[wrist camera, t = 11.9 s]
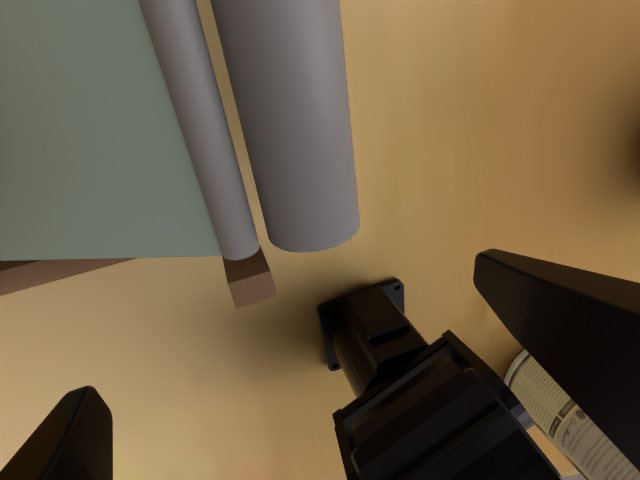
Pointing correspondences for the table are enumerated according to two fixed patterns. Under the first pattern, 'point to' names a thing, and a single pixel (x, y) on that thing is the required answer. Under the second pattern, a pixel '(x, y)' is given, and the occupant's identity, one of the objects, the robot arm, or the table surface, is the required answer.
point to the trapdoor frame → (242, 275)
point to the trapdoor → (171, 129)
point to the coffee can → (566, 423)
